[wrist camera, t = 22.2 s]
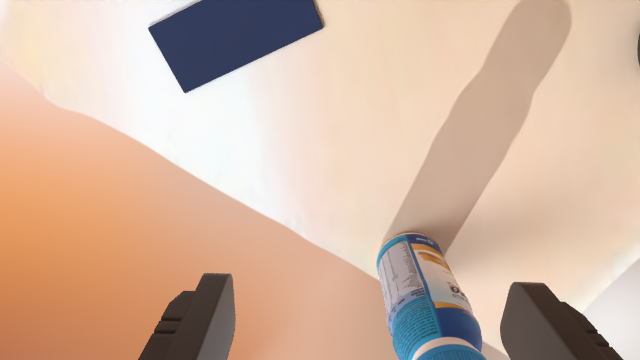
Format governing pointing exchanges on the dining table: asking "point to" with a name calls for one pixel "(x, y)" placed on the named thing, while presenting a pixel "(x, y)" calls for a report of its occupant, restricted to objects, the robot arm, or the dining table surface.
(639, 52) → the coffee jar
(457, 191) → the dining table surface
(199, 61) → the cloth
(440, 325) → the beverage bottle
